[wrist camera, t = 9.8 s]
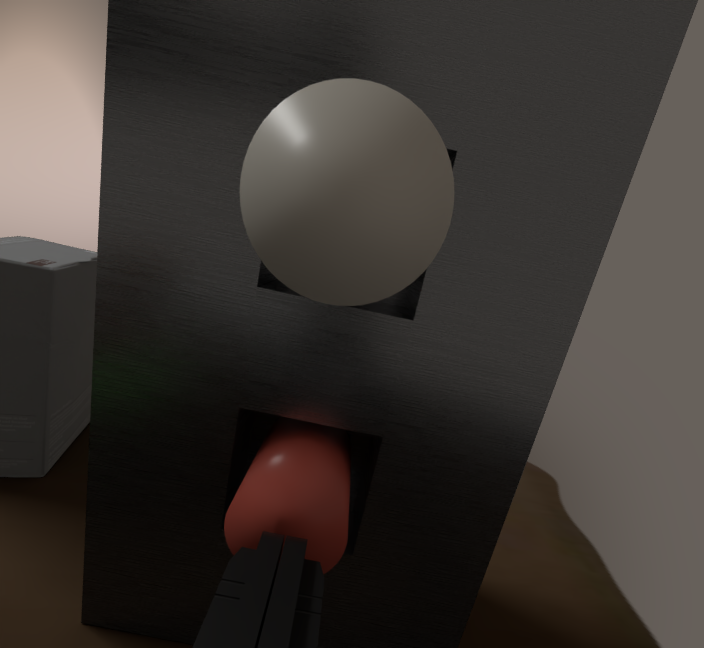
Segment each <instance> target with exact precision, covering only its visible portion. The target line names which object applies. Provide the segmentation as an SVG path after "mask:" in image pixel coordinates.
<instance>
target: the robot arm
mask: <svg viewBox="0 0 704 648" xmlns="http://www.w3.org/2000/svg"><path fill="white" fill-rule="evenodd" d="M284 537H285V535H282V534H276V533H271V532H266V531H263V533H262V535H261V538H260V541H259V544H258V547H257V550H255V549H250V548H245V547H241V548H240V550H239V551H238V552H237V553H236V554H235V555H234V556H233V557H232V558H231V559H230V560H229V562H228V565H227V567H226V569H225V572H224V574H223V576H222V579H221V582H220V583H219V586H218V588H217V591H216V593H215V596H214V598H213V600H212V602H211V605H210V607H209V610H208V612H207V614H206V617H205V619H204V621H203V624H202V626H201V628H200V631H199V633H198V636H197V638H196V640H195V643H194V645H193V647H192V648H317V646H318V637H319V628H320V618H321V617H320V616H321V609H322V598H323V590H324V580H325V578H324V575H323V571H322V568H321V564H320V562H318V561H313V560H308V559H304V558H305V552H306V547H307V541H308V539H303V538H298V537H292V536H286V539H285V543H284V547H283V542H284ZM282 547H283V551H282ZM281 552H282V555H281ZM280 557H281V558H280Z"/></svg>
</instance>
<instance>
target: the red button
mask: <svg viewBox="0 0 704 648" xmlns="http://www.w3.org/2000/svg"><path fill="white" fill-rule="evenodd" d="M351 452H352V448H351V442H350V439H349V436H348V434H347V432H346V431H345V429H340V428H336V427H331V426H326V425H321V424H316V423H311V422H307V421H302V420H297V419H292V418H287V417H281V418H279V419H278V420H277V421H276V422H275V423H274V424H273V425H272V426H271V427H270V429H269V431H268V433H267V435H266V437H265V438H264V440H263V442H262V444H261V446H260V448H259V450H258V452H257V454H256V456H255V458H254V460H253V462H252V464H251V466H250V468H249V469H248V471H247V473H246V475H245V477H244V479H243V481H242V483H241V485H240V487H239V489H238V491H237V493H236V495H235V497H234V498H233V500H232V502H231V504H230V506H229V508H228V511H227V513H226V517H225V522H224V532H225V538H226V542H227V544H228V547H229V549H230V551H231V552H232V554H233V555H235V554H236V553H237V552H238V551H239V550H240V548H241V547H245V548H250V549H255V550H257V547H258V544H259V541H260V538H261V535H262V533H263V531H266V532H271V533H276V534H282V535H285V537H284V542H283V547H284V543H285V539H286V536H292V537H298V538H303V539H308V541H307V547H306V552H305V558H304V559H308V560H313V561H318V562H320V564H321V568H322V571H323V574H325V573H327V572H328V571H329V570H331V569H332V568H333V567H334V566H335V565H336V564H337V563H338V561H339V560H340V559H341V557H342V555H343V553H344V551H345V548H346V545H347V540H348V520H349V498H350V476H351ZM283 547H282V551H283ZM281 555H282V552H281ZM280 558H281V557H280Z"/></svg>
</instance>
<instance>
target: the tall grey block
mask: <svg viewBox="0 0 704 648" xmlns="http://www.w3.org/2000/svg"><path fill="white" fill-rule="evenodd" d="M697 1H698V0H109V2H108V3H109V4H108V26H107V47H106V70H105V93H104V116H103V139H102V163H101V184H100V185H101V186H100V208H99V230H98V253H97V276H96V299H95V321H94V344H93V367H92V390H91V413H90V436H89V459H88V481H87V504H86V527H85V550H84V573H83V596H82V618H81V623H84V624H89V625H94V626H99V627H104V628H110V629H115V630H120V631H125V632H131V633H136V634H141V635H146V636H151V637H157V638H162V639H167V640H172V641H177V642H183V643H188V644H193V645H194V643H195V640H196V638H197V636H198V633H199V631H200V628H201V626H202V624H203V621H204V619H205V617H206V614H207V612H208V610H209V607H210V605H211V602H212V600H213V598H214V596H215V593H216V591H217V588H218V586H219V583H220V582H221V579H222V576H223V574H224V572H225V569H226V567H227V565H228V562H229V560H230V559H231V558H232V557H233V556H234V555H233V554H232V552H231V551H230V549H229V547H228V544H227V542H226V538H225V532H224V522H225V517H226V513H227V511H228V508H229V506H230V504H231V502H232V500H233V498H234V497H235V495H236V493H237V491H238V489H239V487H240V485H241V483H242V481H243V479H244V477H245V475H246V473H247V471H248V469H249V468H250V466H251V464H252V462H253V460H254V458H255V456H256V454H257V452H258V450H259V448H260V446H261V444H262V442H263V440H264V438H265V437H266V435H267V433H268V431H269V429H270V427H271V426H272V425H273V424H274V423H275V422H276V421H277V420H278V419H279V418H281V417H287V418H292V419H297V420H302V421H307V422H311V423H316V424H321V425H326V426H331V427H336V428H340V429H345V431H346V432H347V434H348V436H349V439H350V442H351V448H352V452H351V476H350V498H349V520H348V540H347V545H346V548H345V551H344V553H343V555H342V557H341V559H340V560H339V561H338V563H337V564H336V565H335V566H334V567H333V568H332V569H331V570H329V571H328V572H327V573H325V574H323V575H324V578H325V580H324V590H323V598H322V609H321V616H320V617H321V618H320V628H319V637H318V646H317V648H458V645H459V643H460V640H461V637H462V634H463V632H464V629H465V626H466V624H467V621H468V618H469V616H470V613H471V610H472V608H473V605H474V602H475V599H476V597H477V594H478V591H479V589H480V586H481V583H482V581H483V578H484V575H485V573H486V570H487V567H488V564H489V562H490V559H491V556H492V554H493V551H494V548H495V546H496V543H497V540H498V537H499V535H500V532H501V529H502V527H503V524H504V521H505V519H506V516H507V513H508V511H509V508H510V505H511V502H512V500H513V497H514V494H515V492H516V489H517V486H518V484H519V481H520V478H521V476H522V473H523V470H524V467H525V465H526V462H527V459H528V457H529V454H530V451H531V449H532V446H533V443H534V441H535V438H536V435H537V432H538V430H539V427H540V424H541V422H542V419H543V416H544V414H545V411H546V408H547V406H548V403H549V400H550V397H551V394H552V392H553V389H554V387H555V384H556V381H557V379H558V376H559V373H560V371H561V368H562V365H563V362H564V360H565V357H566V354H567V352H568V349H569V346H570V344H571V341H572V338H573V336H574V333H575V330H576V327H577V325H578V322H579V319H580V317H581V314H582V311H583V309H584V306H585V303H586V300H587V298H588V295H589V292H590V289H591V287H592V284H593V282H594V279H595V276H596V274H597V271H598V268H599V265H600V263H601V260H602V257H603V255H604V252H605V249H606V247H607V244H608V241H609V239H610V236H611V233H612V230H613V228H614V225H615V222H616V220H617V217H618V214H619V212H620V209H621V206H622V203H623V201H624V198H625V195H626V193H627V190H628V187H629V184H630V182H631V179H632V176H633V174H634V171H635V168H636V166H637V163H638V160H639V158H640V155H641V152H642V150H643V147H644V144H645V141H646V139H647V136H648V134H649V131H650V128H651V125H652V123H653V120H654V117H655V115H656V112H657V109H658V106H659V104H660V101H661V99H662V96H663V93H664V90H665V87H666V85H667V82H668V80H669V77H670V74H671V71H672V69H673V66H674V63H675V61H676V58H677V55H678V53H679V50H680V47H681V44H682V42H683V39H684V37H685V34H686V31H687V28H688V26H689V23H690V20H691V18H692V15H693V12H694V9H695V7H696V4H697ZM340 78H355V79H362V80H368V81H372V82H375V83H379V84H382V85H385V86H387V87H389V88H391V89H393V90H395V91H397V92H399V93H401V94H402V95H404V96H405V97H407V98H408V99H410V100H411V101H412V102H413V103H414V104H415V105H417V106H418V107H419V108H420V109H421V110H422V111H423V112H424V113H425V115H426V116H427V117H428V118H429V119H430V120H431V122H432V123H433V125H434V126H435V128H436V129H437V131H438V133H439V134H440V136H441V138H442V140H443V142H444V145H445V147H446V149H447V152H448V155H449V158H450V162H451V166H452V171H453V177H454V193H455V194H454V207H453V213H452V218H451V223H450V226H449V229H448V232H447V235H446V238H445V240H444V242H443V244H442V246H441V248H440V250H439V252H438V253H437V255H436V256H435V258H434V260H433V261H432V263H431V264H430V265H429V266H428V267H427V269H426V270H425V271H424V272H423V273H422V274H421V275H420V276H419V277H418V278H417V279H416V280H415V281H414V282H412V283H411V284H410V285H408V286H407V287H406V288H404V289H403V290H401V291H399V292H398V293H396V294H394V295H392V296H390V297H388V298H385V299H383V300H380V301H377V302H373V303H369V304H365V305H356V306H337V305H330V304H324V303H321V302H317V301H314V300H311V299H309V298H307V297H304V296H302V295H300V294H298V293H296V292H295V291H293V290H291V289H290V288H288V287H287V286H286V285H284V284H283V283H282V282H281V281H279V280H278V279H277V278H276V277H275V276H274V275H273V274H272V273H271V272H270V271H269V270H268V269H267V267H266V266H265V265H264V264H263V262H262V261H261V260H260V258H259V256H258V255H257V253H256V251H255V250H254V248H253V246H252V244H251V242H250V239H249V237H248V235H247V232H246V229H245V225H244V222H243V218H242V212H241V207H240V178H241V172H242V167H243V162H244V159H245V156H246V153H247V150H248V147H249V145H250V143H251V141H252V139H253V136H254V134H255V133H256V131H257V130H258V128H259V127H260V125H261V124H262V122H263V121H264V119H265V118H266V117H267V116H268V115H269V114H270V113H271V111H272V110H273V109H274V108H275V107H277V106H278V105H279V104H280V103H281V102H282V101H283V100H285V99H286V98H288V97H289V96H291V95H292V94H294V93H295V92H297V91H299V90H301V89H303V88H305V87H307V86H309V85H312V84H315V83H319V82H322V81H326V80H333V79H340Z"/></svg>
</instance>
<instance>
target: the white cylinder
mask: <svg viewBox="0 0 704 648" xmlns="http://www.w3.org/2000/svg"><path fill="white" fill-rule="evenodd" d="M454 194H455V193H454V177H453V171H452V166H451V162H450V158H449V155H448V152H447V149H446V147H445V145H444V142H443V140H442V138H441V136H440V134H439V133H438V131H437V129H436V128H435V126H434V125H433V123H432V122H431V120H430V119H429V118H428V117H427V116H426V115H425V113H424V112H423V111H422V110H421V109H420V108H419V107H418V106H417V105H415V104H414V103H413V102H412V101H411V100H410V99H408V98H407V97H405V96H404V95H402V94H401V93H399V92H397V91H395V90H393V89H391V88H389V87H387V86H385V85H382V84H379V83H375V82H372V81H368V80H362V79H355V78H340V79H333V80H326V81H322V82H319V83H315V84H312V85H309V86H307V87H305V88H303V89H301V90H299V91H297V92H295V93H294V94H292V95H291V96H289V97H288V98H286V99H285V100H283V101H282V102H281V103H280V104H279V105H278V106H277V107H275V108H274V109H273V110H272V111H271V113H270V114H269V115H268V116H267V117H266V118H265V119H264V121H263V122H262V124H261V125H260V127H259V128H258V130H257V131H256V133H255V134H254V136H253V139H252V141H251V143H250V145H249V147H248V150H247V153H246V156H245V159H244V162H243V167H242V172H241V178H240V207H241V212H242V218H243V222H244V225H245V229H246V232H247V235H248V237H249V239H250V242H251V244H252V246H253V248H254V250H255V251H256V253H257V255H258V256H259V258H260V260H261V261H262V262H263V264H264V265H265V266H266V267H267V269H268V270H269V271H270V272H271V273H272V274H273V275H274V276H275V277H276V278H277V279H278V280H279V281H281V282H282V283H283V284H284V285H286V286H287V287H288V288H290V289H291V290H293V291H295V292H296V293H298V294H300V295H302V296H304V297H307V298H309V299H311V300H314V301H317V302H321V303H324V304H330V305H337V306H356V305H365V304H369V303H373V302H377V301H380V300H383V299H385V298H388V297H390V296H392V295H394V294H396V293H398V292H399V291H401V290H403V289H404V288H406V287H407V286H408V285H410V284H411V283H412V282H414V281H415V280H416V279H417V278H418V277H419V276H420V275H421V274H422V273H423V272H424V271H425V270H426V269H427V267H428V266H429V265H430V264H431V263H432V261H433V260H434V258H435V256H436V255H437V253H438V252H439V250H440V248H441V246H442V244H443V242H444V240H445V238H446V235H447V232H448V229H449V226H450V223H451V218H452V213H453V207H454Z"/></svg>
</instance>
